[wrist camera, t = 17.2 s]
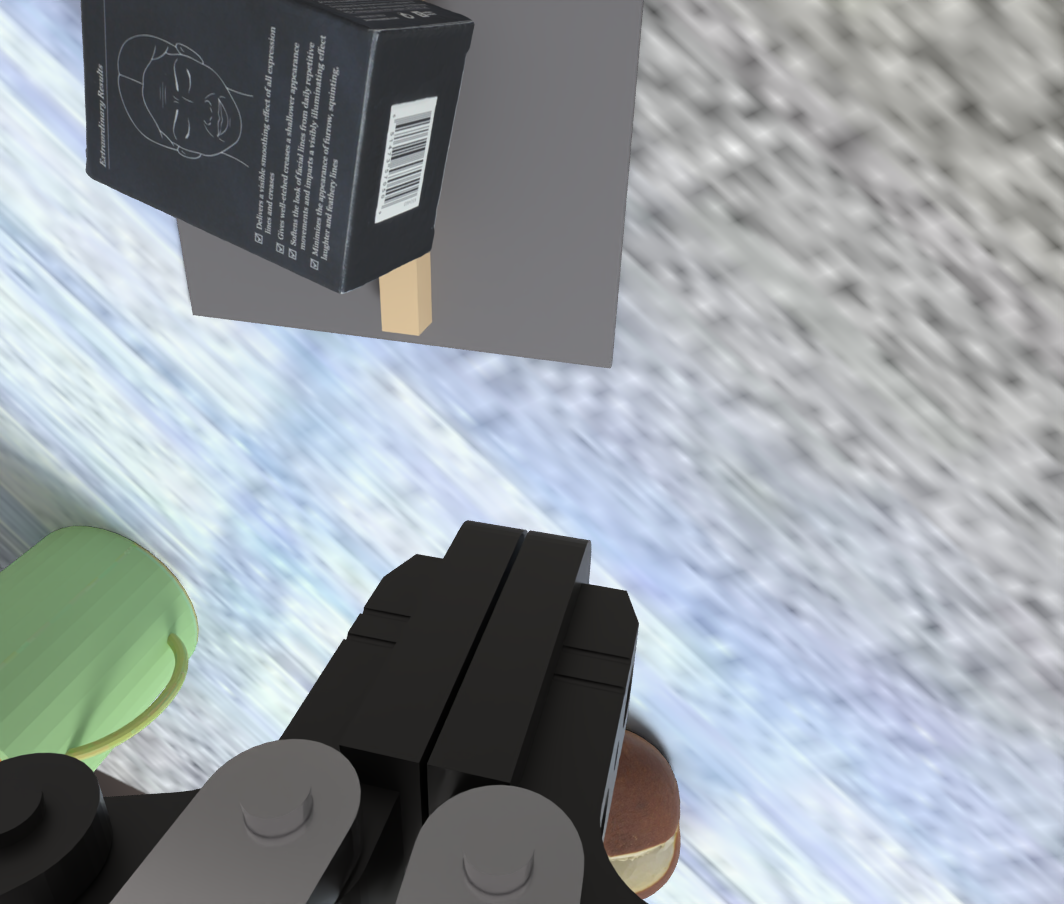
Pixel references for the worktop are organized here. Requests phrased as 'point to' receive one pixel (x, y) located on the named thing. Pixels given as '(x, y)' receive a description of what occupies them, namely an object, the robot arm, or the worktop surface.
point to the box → (280, 122)
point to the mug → (88, 644)
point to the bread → (643, 818)
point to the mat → (491, 202)
